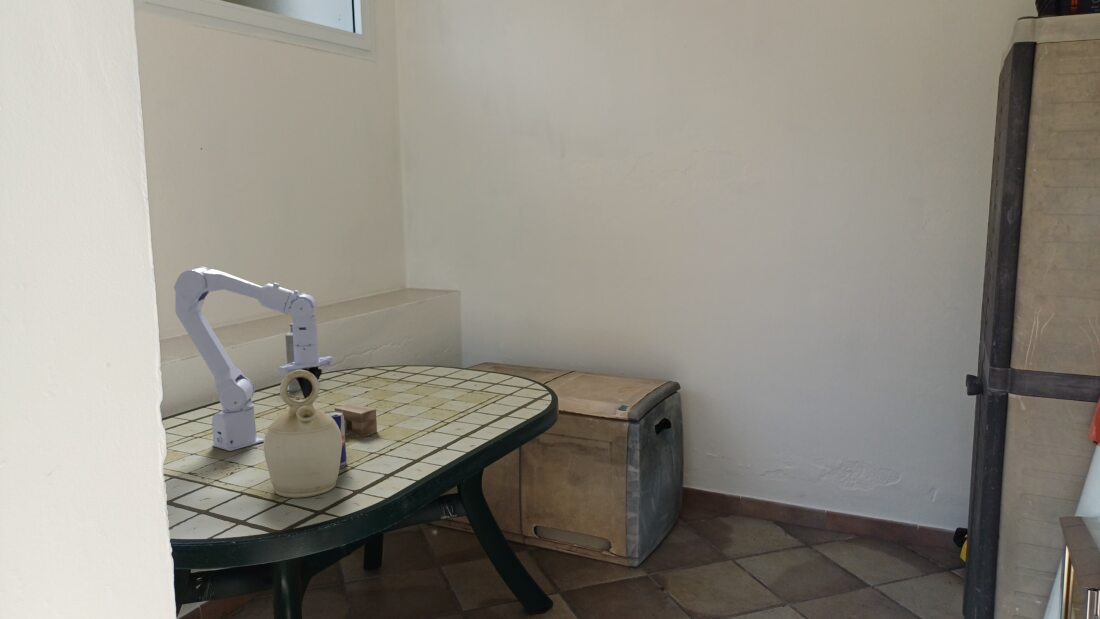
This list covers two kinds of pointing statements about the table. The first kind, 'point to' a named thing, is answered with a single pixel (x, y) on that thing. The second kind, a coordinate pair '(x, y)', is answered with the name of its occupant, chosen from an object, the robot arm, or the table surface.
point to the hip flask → (291, 358)
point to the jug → (302, 445)
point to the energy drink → (340, 422)
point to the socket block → (359, 419)
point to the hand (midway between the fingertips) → (309, 398)
